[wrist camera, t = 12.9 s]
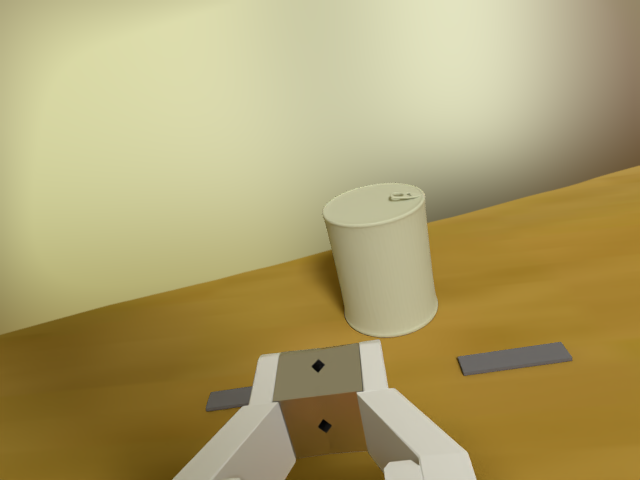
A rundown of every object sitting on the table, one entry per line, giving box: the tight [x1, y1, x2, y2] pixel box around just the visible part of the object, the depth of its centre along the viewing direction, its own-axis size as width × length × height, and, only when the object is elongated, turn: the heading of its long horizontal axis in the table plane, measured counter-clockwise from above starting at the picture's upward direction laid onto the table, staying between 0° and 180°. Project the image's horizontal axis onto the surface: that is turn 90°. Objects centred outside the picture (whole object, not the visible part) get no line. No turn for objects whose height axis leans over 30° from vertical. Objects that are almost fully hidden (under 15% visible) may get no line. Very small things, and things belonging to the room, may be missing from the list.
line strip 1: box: [206, 386, 252, 411], centre depth 36 cm, size 8×2×1 cm, turn 88°
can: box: [322, 183, 438, 337], centre depth 41 cm, size 9×9×12 cm
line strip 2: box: [458, 342, 572, 376], centre depth 34 cm, size 8×2×1 cm, turn 88°
